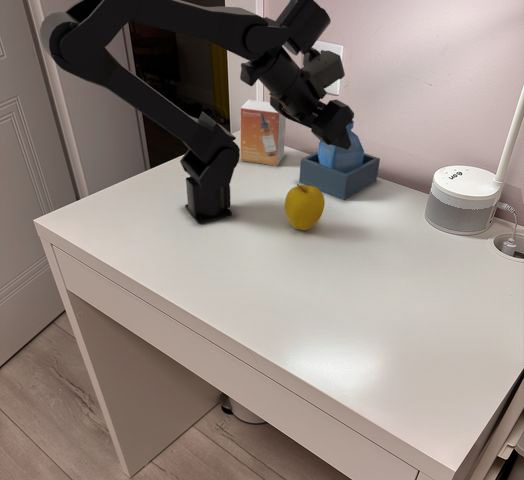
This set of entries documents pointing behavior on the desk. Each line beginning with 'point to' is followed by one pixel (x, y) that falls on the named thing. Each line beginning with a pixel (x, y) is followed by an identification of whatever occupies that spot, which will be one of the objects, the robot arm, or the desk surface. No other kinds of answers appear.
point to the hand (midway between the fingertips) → (334, 137)
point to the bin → (338, 176)
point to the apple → (304, 206)
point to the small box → (261, 133)
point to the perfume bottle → (342, 154)
